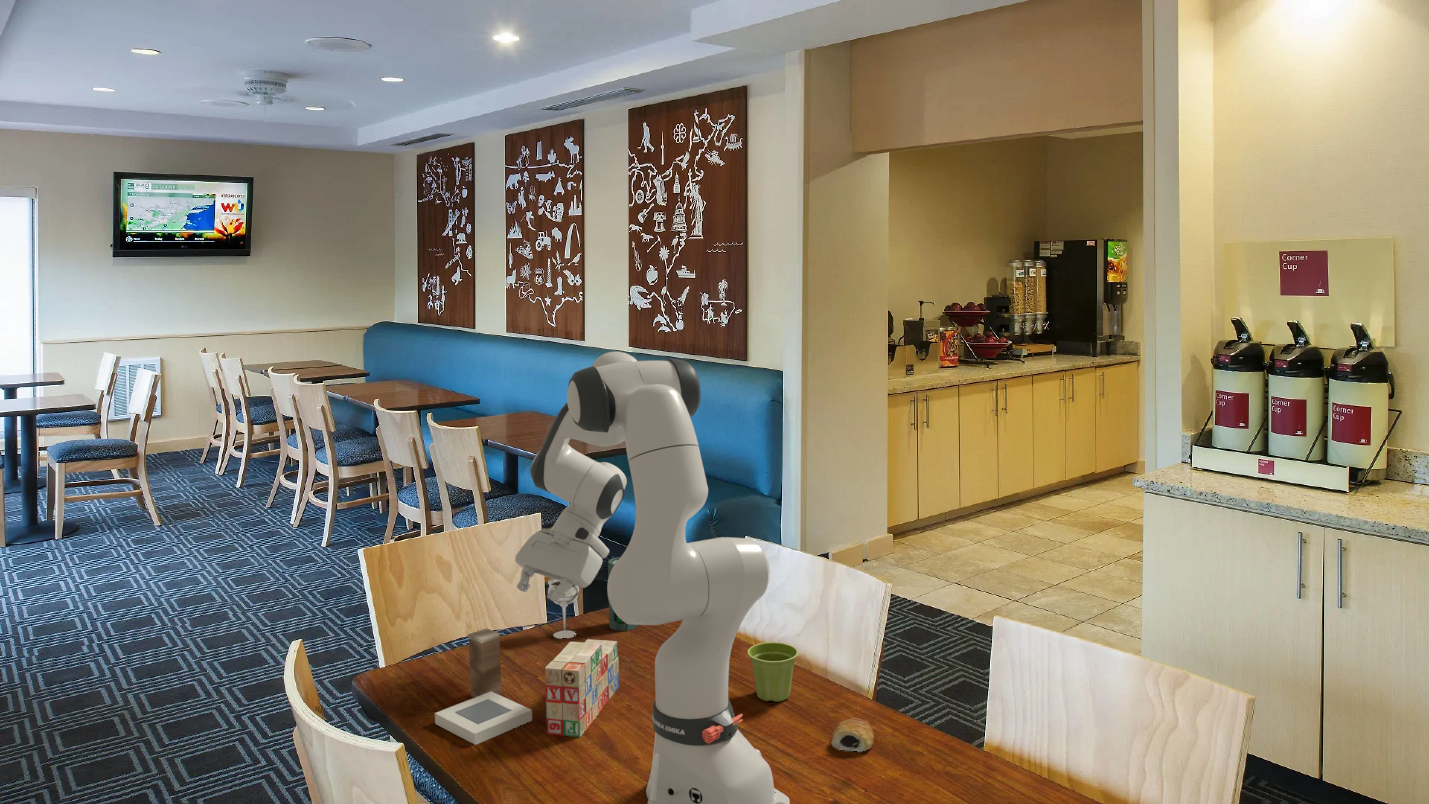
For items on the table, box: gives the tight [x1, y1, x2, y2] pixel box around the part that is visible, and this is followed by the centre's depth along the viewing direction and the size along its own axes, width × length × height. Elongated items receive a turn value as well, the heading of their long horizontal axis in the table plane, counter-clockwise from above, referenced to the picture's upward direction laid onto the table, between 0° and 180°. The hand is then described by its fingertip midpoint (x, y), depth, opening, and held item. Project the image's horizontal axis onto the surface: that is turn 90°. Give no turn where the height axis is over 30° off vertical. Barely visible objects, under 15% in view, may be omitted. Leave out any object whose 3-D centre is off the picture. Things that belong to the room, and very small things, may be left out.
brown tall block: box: [467, 627, 503, 698], centre depth 188 cm, size 4×4×12 cm
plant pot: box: [747, 641, 799, 703], centre depth 187 cm, size 9×9×9 cm
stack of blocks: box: [544, 638, 620, 738], centre depth 182 cm, size 21×6×12 cm, turn 167°
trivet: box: [434, 691, 533, 746], centre depth 178 cm, size 12×12×2 cm
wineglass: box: [547, 578, 580, 640], centre depth 219 cm, size 7×7×12 cm
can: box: [607, 556, 639, 632], centre depth 224 cm, size 6×6×15 cm
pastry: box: [830, 717, 875, 753], centre depth 170 cm, size 9×7×4 cm
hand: (535, 594), depth 196 cm, fingers open, 8 cm apart
